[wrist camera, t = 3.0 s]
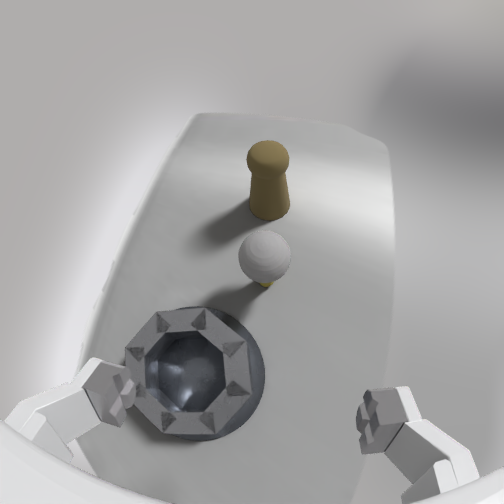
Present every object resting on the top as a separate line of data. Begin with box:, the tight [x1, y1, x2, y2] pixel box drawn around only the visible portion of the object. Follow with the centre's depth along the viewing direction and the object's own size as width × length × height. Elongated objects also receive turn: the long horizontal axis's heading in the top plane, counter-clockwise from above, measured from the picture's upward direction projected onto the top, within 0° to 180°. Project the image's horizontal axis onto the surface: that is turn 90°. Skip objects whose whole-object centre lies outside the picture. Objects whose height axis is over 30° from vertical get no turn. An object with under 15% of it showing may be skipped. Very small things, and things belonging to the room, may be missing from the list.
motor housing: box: [125, 307, 265, 441], centre depth 29 cm, size 17×17×5 cm
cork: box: [247, 140, 290, 221], centre depth 37 cm, size 6×6×11 cm
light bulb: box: [239, 230, 291, 287], centre depth 32 cm, size 6×5×10 cm
